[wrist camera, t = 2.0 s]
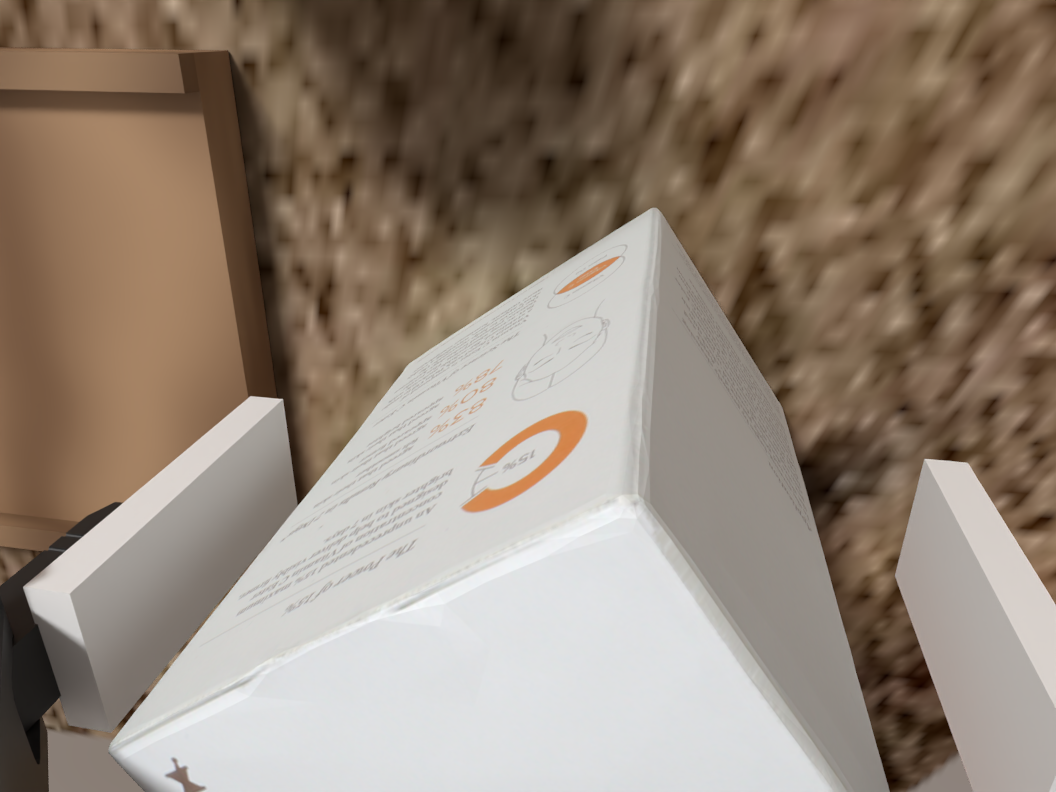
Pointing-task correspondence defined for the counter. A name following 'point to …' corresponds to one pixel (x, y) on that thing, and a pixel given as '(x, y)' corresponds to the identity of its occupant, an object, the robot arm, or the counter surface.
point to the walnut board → (118, 276)
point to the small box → (538, 575)
